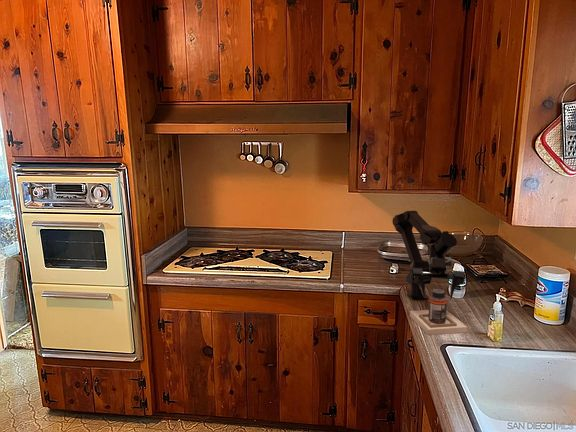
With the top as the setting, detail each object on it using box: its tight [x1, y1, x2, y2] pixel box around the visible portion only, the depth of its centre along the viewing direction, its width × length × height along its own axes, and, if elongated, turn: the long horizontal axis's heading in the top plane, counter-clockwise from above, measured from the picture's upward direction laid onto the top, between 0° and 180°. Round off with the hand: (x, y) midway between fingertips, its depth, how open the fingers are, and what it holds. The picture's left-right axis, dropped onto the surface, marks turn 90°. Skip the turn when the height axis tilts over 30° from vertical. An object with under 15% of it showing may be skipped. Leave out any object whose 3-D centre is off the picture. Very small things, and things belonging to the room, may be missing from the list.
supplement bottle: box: [428, 288, 448, 324], centre depth 152 cm, size 6×6×11 cm
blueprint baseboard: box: [409, 309, 468, 336], centre depth 155 cm, size 16×14×3 cm
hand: (437, 297), depth 154 cm, fingers open, 9 cm apart
